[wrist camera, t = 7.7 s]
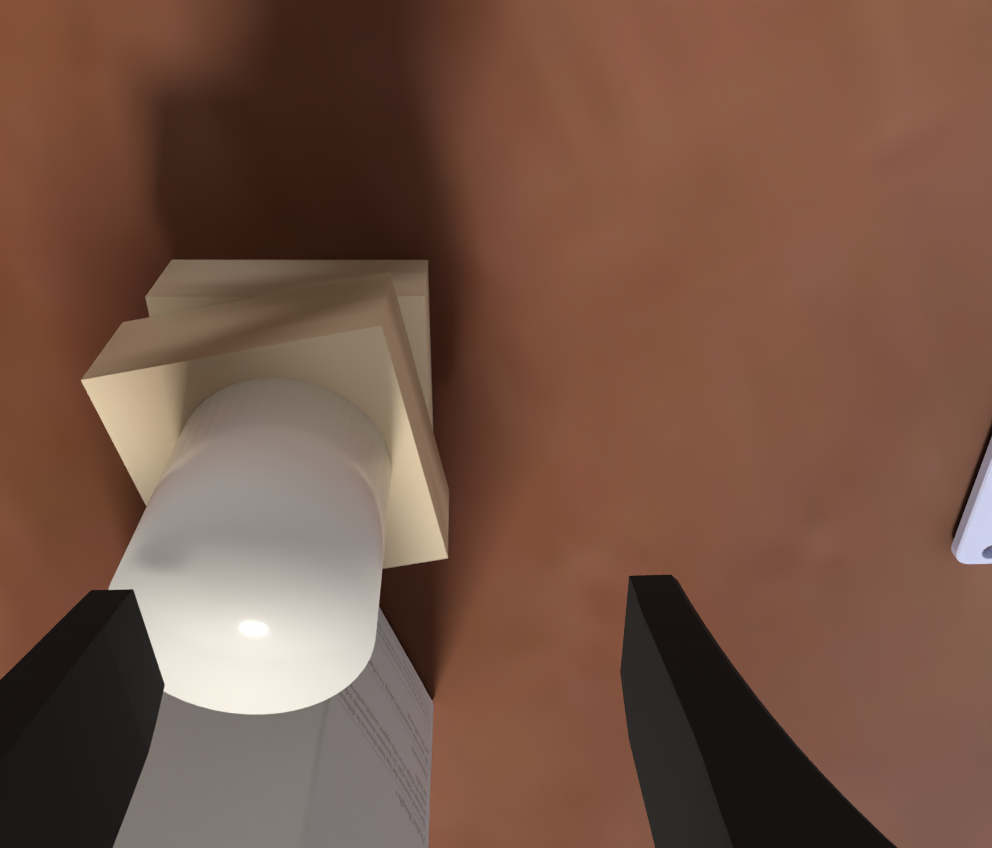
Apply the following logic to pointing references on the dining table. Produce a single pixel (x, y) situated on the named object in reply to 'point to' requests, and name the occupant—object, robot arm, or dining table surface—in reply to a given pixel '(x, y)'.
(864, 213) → the dining table surface
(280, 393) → the ceramic jar
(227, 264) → the oak slab bottom
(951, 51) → the dining table surface
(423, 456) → the oak slab top
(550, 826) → the dining table surface
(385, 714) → the supplement box
